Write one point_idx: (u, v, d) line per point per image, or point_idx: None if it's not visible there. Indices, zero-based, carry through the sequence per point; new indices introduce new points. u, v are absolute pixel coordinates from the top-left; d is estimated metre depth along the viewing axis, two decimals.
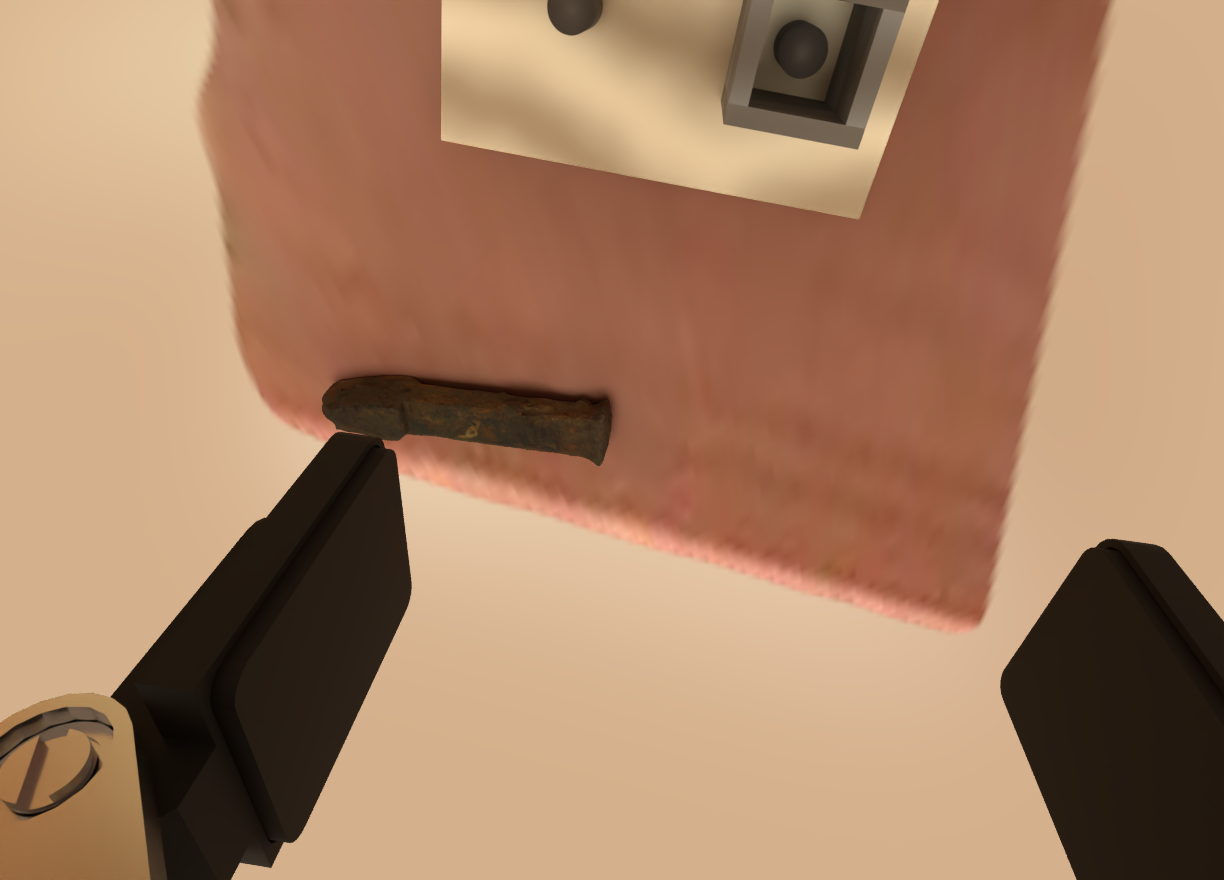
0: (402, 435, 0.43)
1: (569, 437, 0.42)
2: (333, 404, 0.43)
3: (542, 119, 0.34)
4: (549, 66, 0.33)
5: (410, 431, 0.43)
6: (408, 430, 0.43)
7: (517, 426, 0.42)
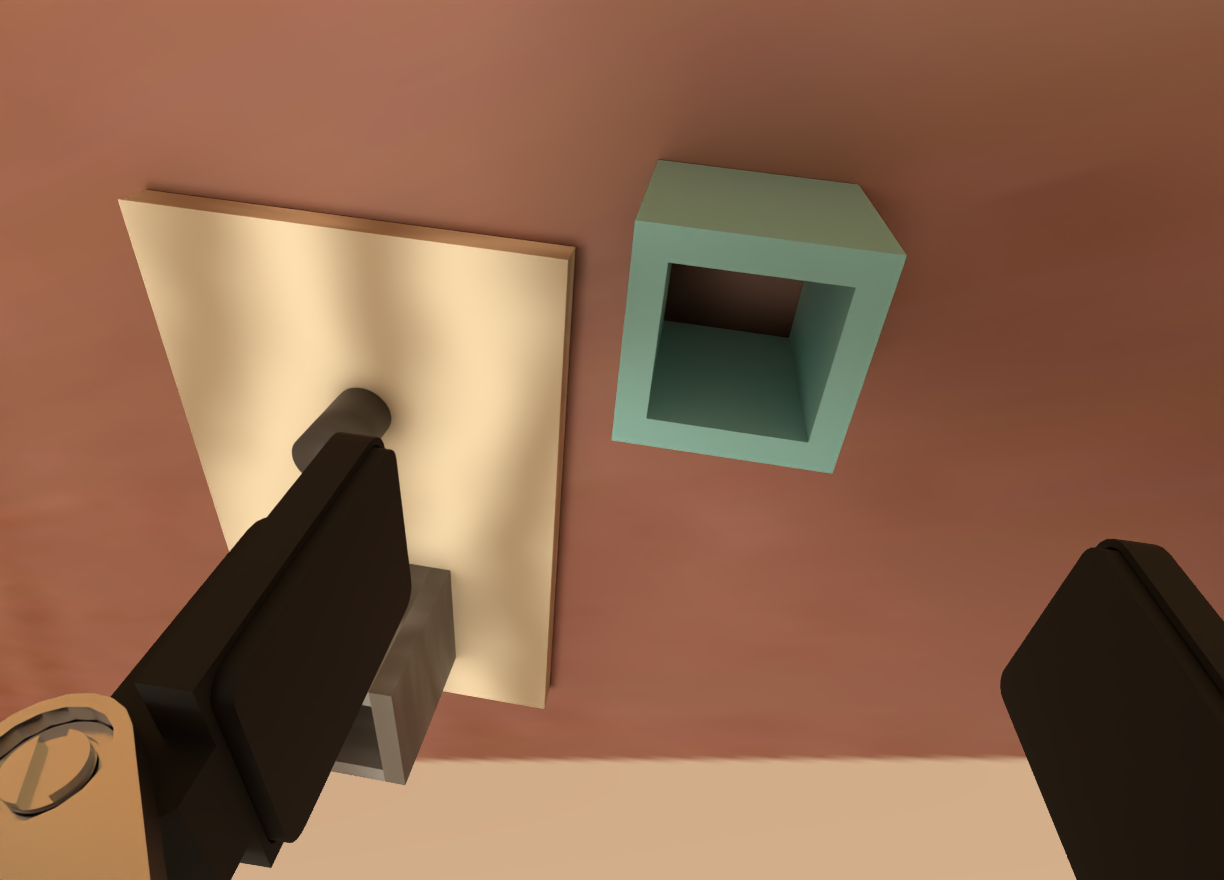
0: None
1: None
2: None
3: (217, 358, 0.24)
4: (284, 371, 0.23)
5: None
6: None
7: None
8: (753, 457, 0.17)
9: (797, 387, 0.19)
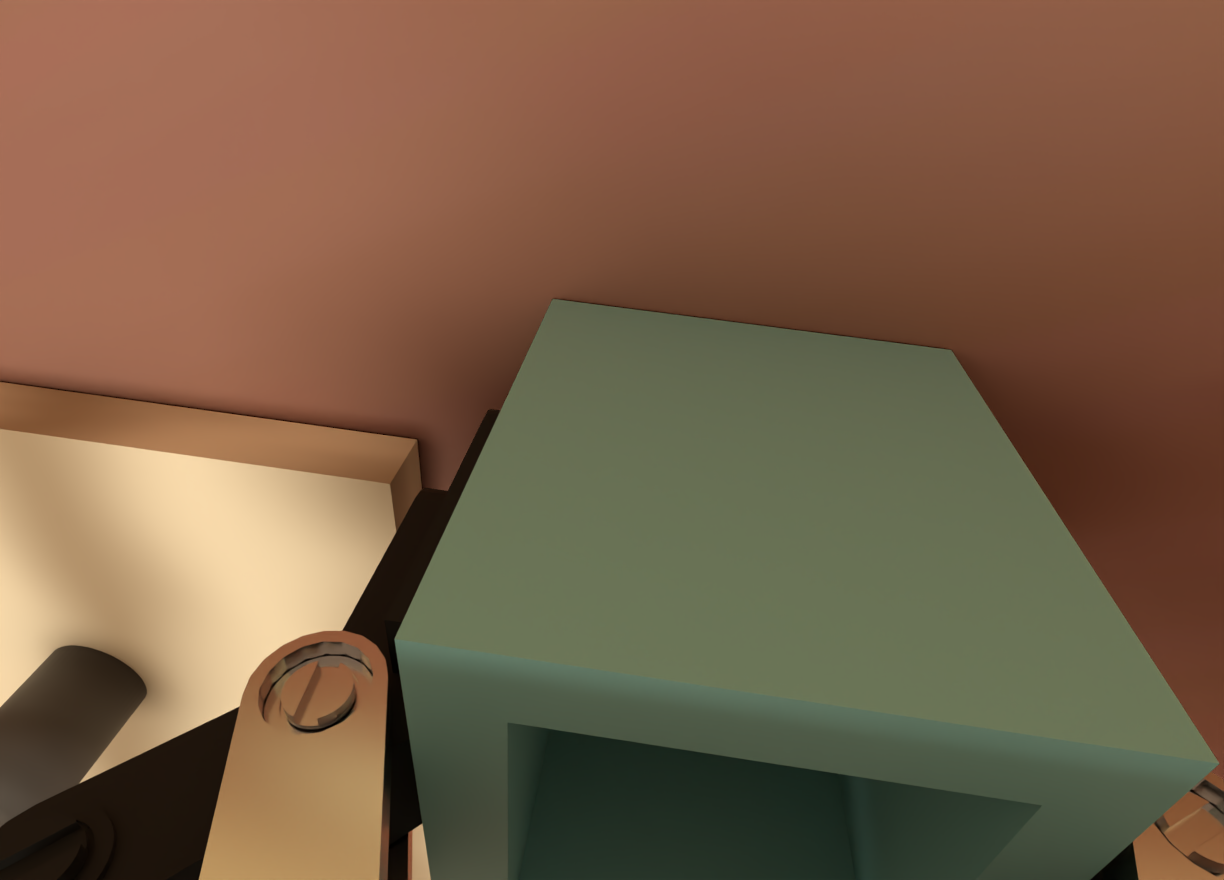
0: None
1: None
2: None
3: None
4: None
5: None
6: None
7: None
8: None
9: None
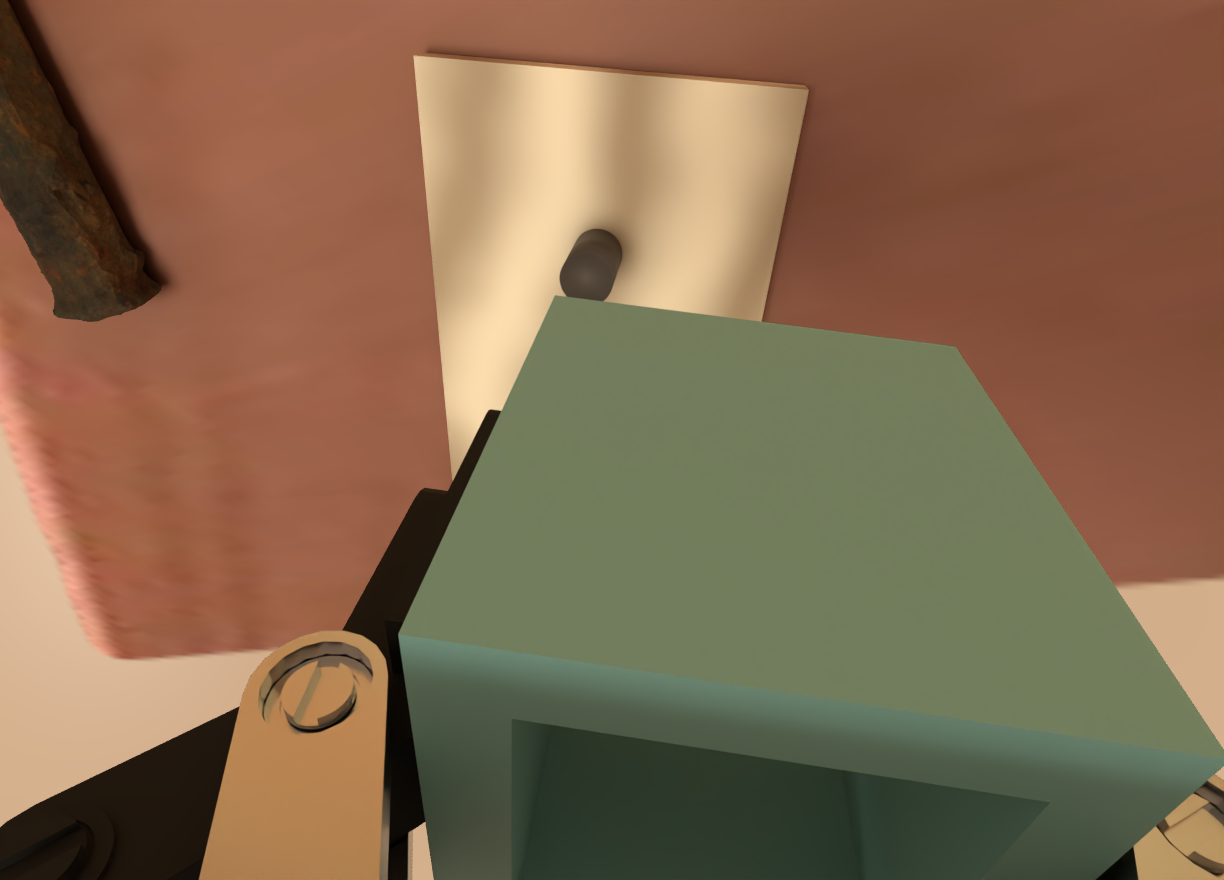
0: None
1: (68, 269, 0.29)
2: None
3: (473, 207, 0.27)
4: (532, 216, 0.27)
5: None
6: None
7: (29, 190, 0.27)
8: None
9: None
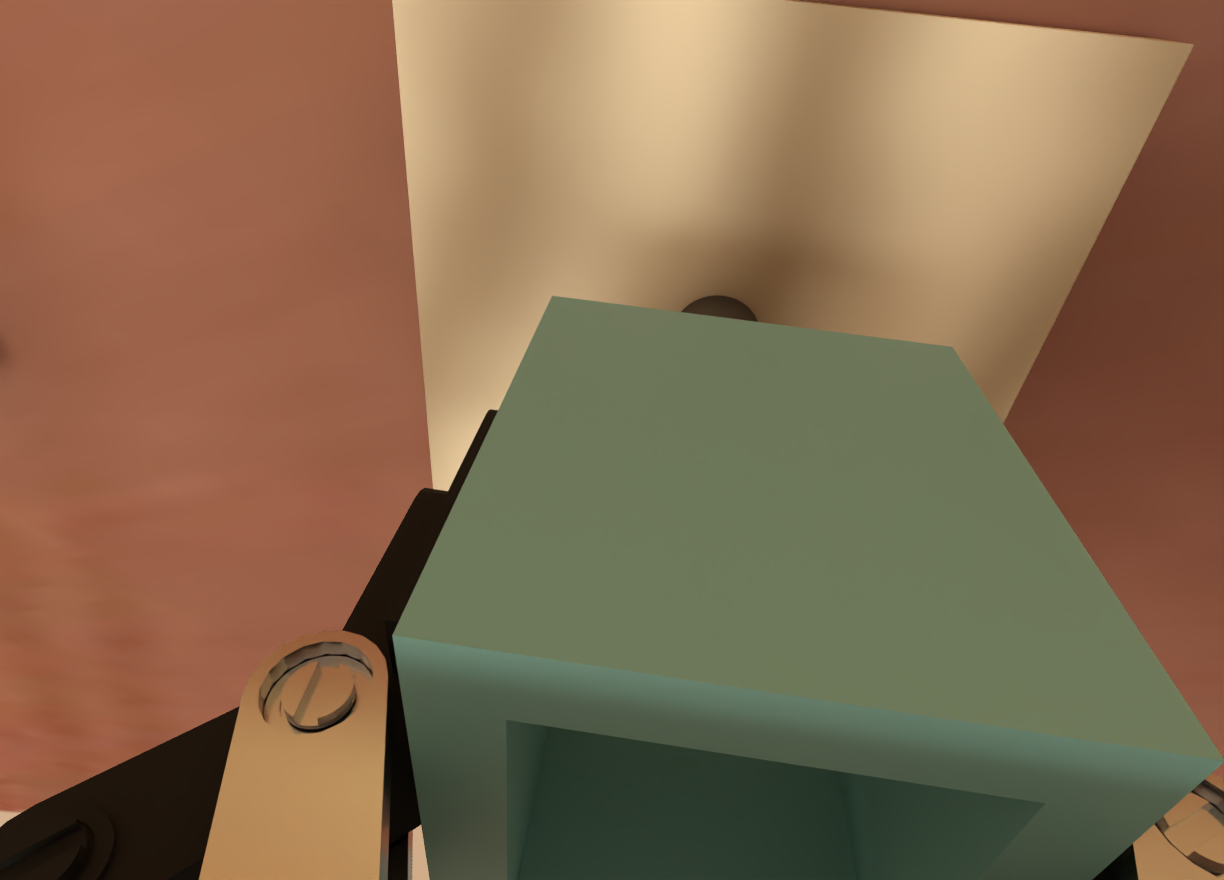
0: None
1: None
2: None
3: (496, 252, 0.15)
4: (602, 271, 0.15)
5: None
6: None
7: None
8: None
9: None
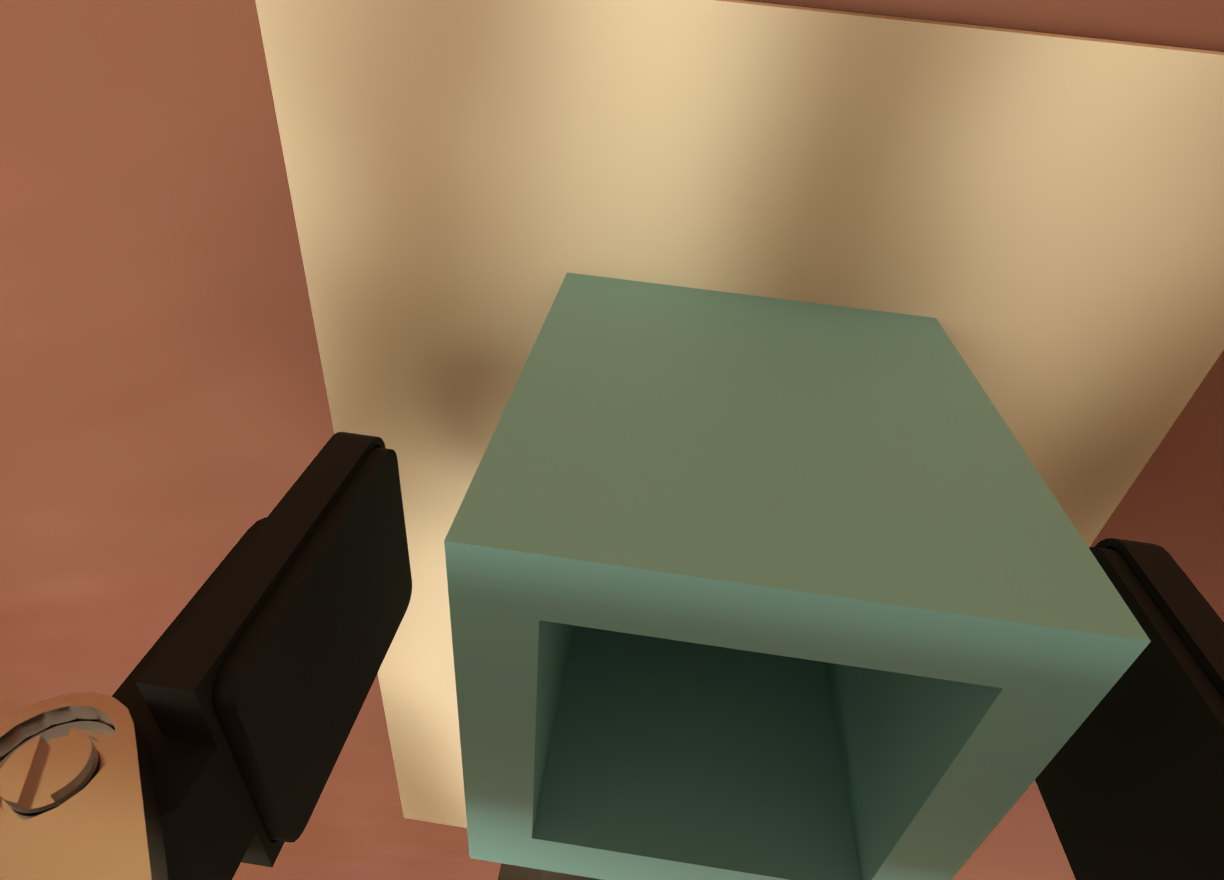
0: None
1: None
2: None
3: (425, 340, 0.11)
4: None
5: None
6: None
7: None
8: None
9: (828, 689, 0.10)
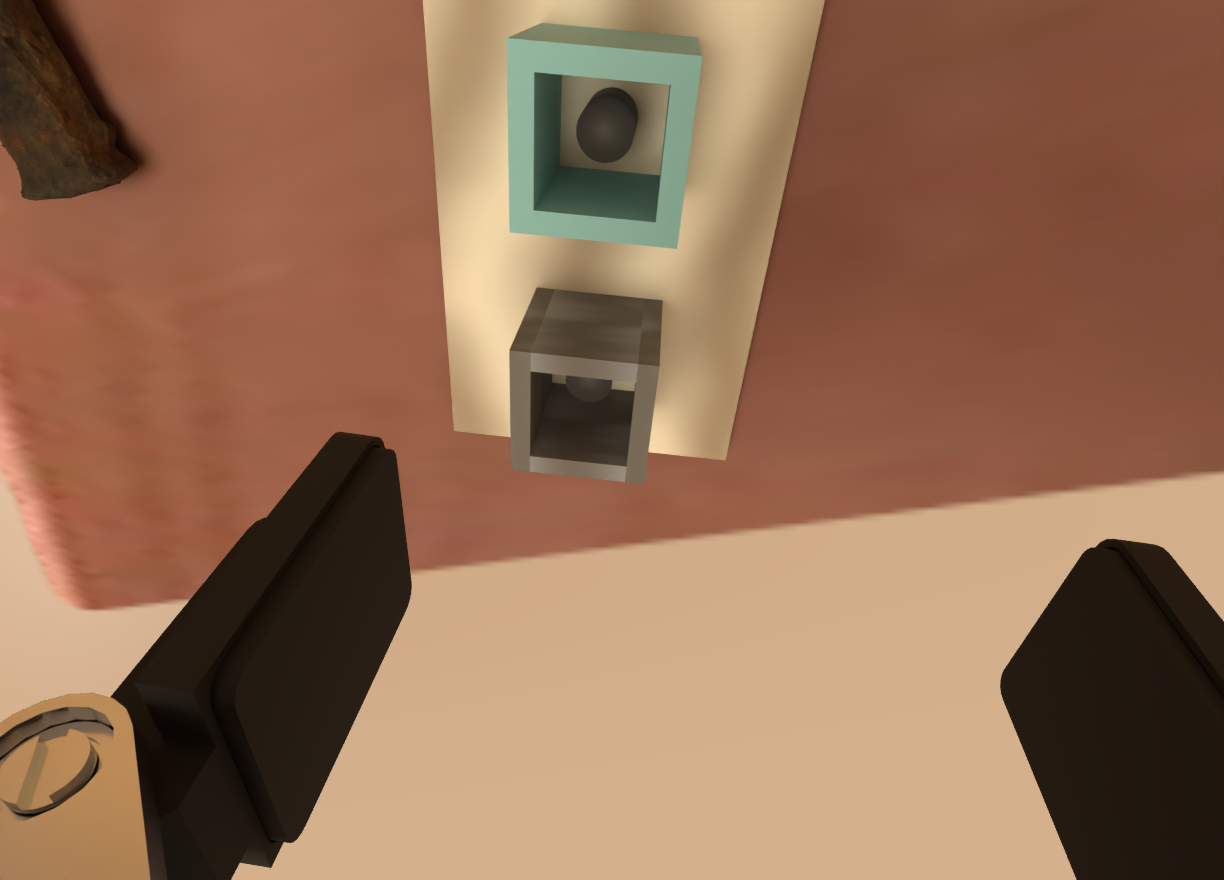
0: None
1: (31, 136, 0.26)
2: None
3: (478, 64, 0.25)
4: None
5: None
6: None
7: None
8: (617, 239, 0.22)
9: (657, 199, 0.24)
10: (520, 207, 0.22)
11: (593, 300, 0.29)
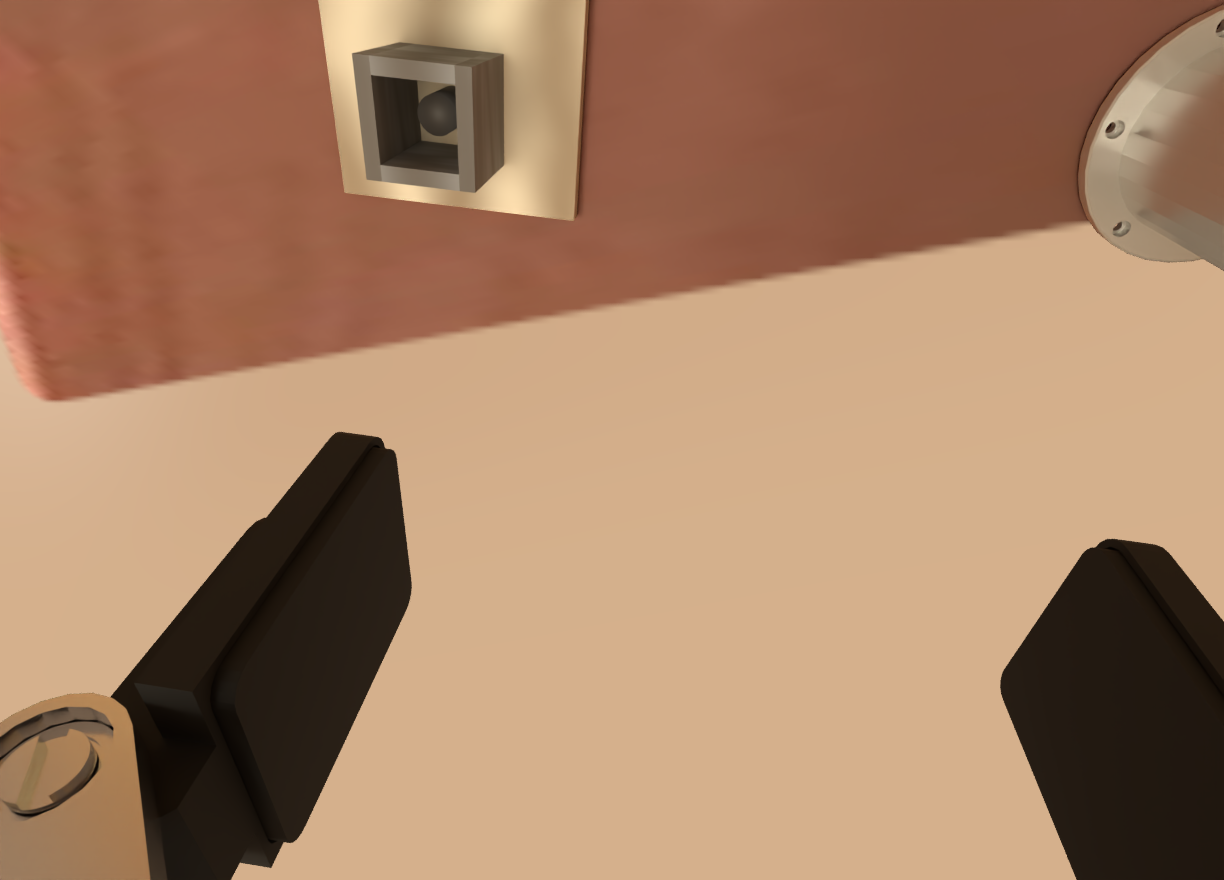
0: None
1: None
2: None
3: None
4: None
5: None
6: None
7: None
8: None
9: None
10: None
11: (443, 48, 0.35)
